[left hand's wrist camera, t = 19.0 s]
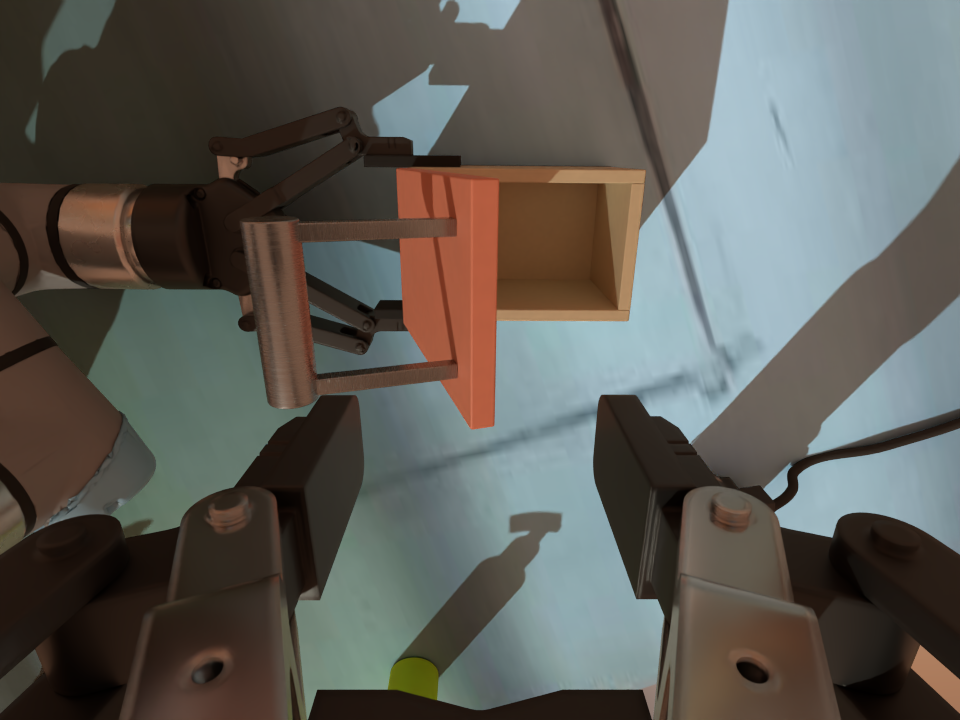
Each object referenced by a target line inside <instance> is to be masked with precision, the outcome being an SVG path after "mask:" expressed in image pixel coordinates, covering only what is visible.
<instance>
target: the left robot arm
mask: <svg viewBox="0 0 960 720" xmlns="http://www.w3.org/2000/svg"><path fill="white" fill-rule="evenodd" d="M959 428H960V418H957V419H955V420H952V421H949V422H946V423H943V424H940V425H937V426H934V427H931V428H928V429H925V430H922V431H918V432H915V433H911V434H908V435H905V436H901V437H898V438H895V439H891V440H888V441H885V442H881V443H877V444H873V445H868V446H863V447H856V448H848V449H840V450H834V451H830V452H825V453H821V454H818V455H814V456H811V457H808V458H805V459H803V460H801V461H799V462H797V463H796V464H795V465H794V466H792V467H791V468H790V469H789V471H788V474H787V480H788V487H787V489H786V490H785V491H784V492H783V493H782V494H781V495H780V496H779V497H777V498H776V499H774V500H772V499H771V498H770V497H769V495H768V494H767V493H766V492H765V491H764V490H763V489H762V487H761V486H753V487H746V488H738V487H737V486H736V485H735V483H734V482H733V481H732V480H731V478H729V477H725V478H719V477H717V476H716V475H714V474H712V472H711V471H710V470H709V468H708V467H707V465H706V464H705V463H704V461H703V460H702V459H701V457H700V456H699V455H697V452H696V451H695V449H694V448H693V447H692V445H691V444H689V441H688V440H687V438H686V437H685V436H684V434H683V433H682V432H681V430H680V429H679V428H678V427H677V426H675V425H673V424H672V423H670V422H669V421H667V420H666V419H664V418H662V417H661V416H650V415H649V414H648V412H647V411H646V409H645V408H644V406H643V405H642V403H641V402H640V400H639V399H638V397H637V396H636V395H601V396H600V399H599V403H598V411H597V422H596V433H595V444H594V456H593V470H594V479H595V484H596V487H597V490H598V493H599V495H600V498H601V501H602V504H603V507H604V509H605V512H606V515H607V518H608V521H609V523H610V526H611V529H612V532H613V535H614V538H615V540H616V543H617V546H618V549H619V552H620V554H621V557H622V560H623V563H624V566H625V568H626V571H627V574H628V577H629V580H630V582H631V585H632V588H633V591H634V594H635V597H636V599H658V601H659V604H660V606H661V609H662V611H663V614H664V621H663V627H662V636H661V646H660V656H659V666H658V676H657V687H656V696H655V707H654V717H653V720H960V714H959V713H958V712H957V711H956V710H955V709H954V708H953V707H952V706H951V705H950V704H949V703H948V702H947V701H946V700H944V699H943V698H942V697H941V696H940V695H939V694H938V693H937V692H936V691H935V690H934V689H933V688H932V687H931V686H929V685H928V684H927V683H926V682H925V681H924V680H923V679H922V678H921V677H920V676H919V675H918V674H917V673H916V672H914V671H913V670H912V669H911V666H912V663H913V661H914V659H915V656H916V654H917V651H918V649H919V646H920V645H921V646H922V647H924V648H925V649H926V650H927V651H928V652H929V653H930V654H932V655H933V656H934V657H935V658H936V659H937V660H938V661H940V662H941V663H942V664H943V665H944V666H945V667H946V668H948V669H949V670H950V671H951V672H952V673H953V674H954V675H956V676H957V677H958V678H959V679H960V555H959V554H958V553H956V552H955V551H953V550H952V549H950V548H949V547H947V546H946V545H944V544H943V543H941V542H940V541H938V540H937V539H935V538H934V537H932V536H931V535H929V534H927V533H926V532H924V531H922V530H920V529H919V528H917V527H915V526H912V525H910V524H908V523H906V522H903V521H900V520H897V519H894V518H891V517H887V516H883V515H879V514H872V513H851V514H847V515H844V516H842V517H841V518H840V519H839V520H838V522H837V525H836V528H835V531H834V535H833V538H831V537H826V536H821V535H816V534H811V533H806V532H801V531H796V530H791V529H787V528H782V527H780V524H779V520H778V518H777V516H776V514H775V513H774V512H775V511H776V510H778V509H779V508H781V507H783V506H784V505H786V504H787V503H788V502H789V501H791V500H792V499H793V497H794V496H795V495H796V493H797V491H798V479H797V477H798V475H799V474H800V473H801V472H802V471H803V470H805V469H806V468H808V467H810V466H812V465H814V464H817V463H820V462H823V461H828V460H833V459H840V458H848V457H856V456H863V455H870V454H875V453H880V452H883V451H887V450H891V449H894V448H897V447H901V446H904V445H908V444H911V443H914V442H918V441H921V440H925V439H928V438H931V437H935V436H938V435H941V434H944V433H947V432H950V431H953V430H956V429H959ZM363 475H364V452H363V441H362V430H361V420H360V409H359V402H358V398H357V396H356V395H322V396H320V398H319V399H318V401H317V402H316V403H315V405H314V406H313V408H312V409H311V411H310V412H309V414H308V415H307V417H295V418H294V419H292V420H291V421H289V422H287V423H286V424H284V425H283V426H281V427H280V428H278V429H277V431H276V432H275V433H274V435H273V436H272V437H271V439H270V440H269V441H268V445H265V447H264V448H263V449H262V451H261V452H260V456H257V457H256V459H255V460H254V461H253V463H252V464H251V465H250V467H249V468H248V469H247V471H246V472H245V473H244V475H243V476H242V477H241V479H240V480H239V481H238V483H237V484H236V485H235V487H234V488H229V489H225V490H222V491H219V492H216V493H213V494H211V495H209V496H207V497H205V498H203V499H201V500H200V501H198V502H197V503H195V504H194V505H193V506H192V507H190V508H189V510H188V511H187V512H186V513H185V514H184V516H183V518H182V520H181V524H180V527H177V528H173V529H169V530H165V531H160V532H155V533H150V534H145V535H140V536H135V537H130V538H125V537H124V533H123V530H122V527H121V524H120V522H119V520H117V519H116V518H115V517H112V516H109V515H104V514H89V515H82V516H77V517H72V518H69V519H65V520H62V521H59V522H56V523H54V524H51V525H49V526H47V527H44V528H42V529H40V530H38V531H36V532H34V533H33V534H31V535H29V536H28V537H26V538H25V539H23V540H22V541H20V542H19V543H17V544H16V545H14V546H13V547H11V548H10V549H8V550H7V551H5V552H4V553H2V554H1V555H0V679H1V678H2V677H3V676H4V675H6V674H7V673H8V672H9V671H10V670H11V669H12V668H14V667H15V666H16V665H17V664H18V663H19V662H20V661H22V660H23V659H24V658H25V657H26V656H27V655H28V654H30V653H31V652H32V651H33V650H34V649H35V650H36V652H37V655H38V657H39V660H40V662H41V664H42V667H43V669H44V673H43V674H42V675H41V676H40V677H39V678H38V679H37V680H36V681H35V682H34V683H33V684H32V685H30V686H29V687H28V688H27V689H26V690H25V691H24V692H23V693H22V694H21V695H20V696H19V697H18V698H17V699H15V700H14V701H13V702H12V703H11V704H10V705H9V706H8V707H7V708H6V709H5V710H4V711H3V712H2V713H0V720H307V716H306V706H305V696H304V686H303V676H302V666H301V656H300V646H299V636H298V627H297V621H296V615H295V607H296V605H297V602H298V600H320V598H321V596H322V593H323V590H324V587H325V585H326V582H327V579H328V576H329V574H330V571H331V568H332V565H333V563H334V560H335V557H336V554H337V552H338V549H339V546H340V543H341V541H342V538H343V535H344V532H345V530H346V527H347V524H348V521H349V519H350V516H351V513H352V510H353V508H354V505H355V502H356V499H357V497H358V494H359V491H360V488H361V485H362V481H363ZM308 720H652V719H651V715H650V712H649V709H648V706H647V702H646V699H645V696H644V693H643V690H560V691H556V692H552V693H549V694H545V695H541V696H537V697H533V698H530V699H526V700H522V701H518V702H515V703H511V704H507V705H503V706H499V707H496V708H492V709H488V710H472V709H468V708H464V707H461V706H457V705H453V704H449V703H445V702H442V701H438V700H434V699H430V698H427V697H423V696H419V695H415V694H411V693H408V692H404V691H400V690H317V693H316V696H315V699H314V702H313V706H312V709H311V712H310V715H309V719H308Z"/></svg>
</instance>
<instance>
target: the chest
mask: <svg viewBox="0 0 960 720" xmlns="http://www.w3.org/2000/svg"><path fill="white" fill-rule="evenodd" d="M409 168H417V169H425V170H433V171H442V172H450V173H458V174H467V175H475V176H484V177H492V178H498V179H499V219H498V269H497V318H496V321H628V320H629V312H630V305H631V297H632V288H633V279H634V271H635V262H636V254H637V245H638V237H639V228H640V219H641V211H642V202H643V194H644V185H645V184H643V183H644V182H645V175H646V170H643V169H631V168H619V167H609V166H502V165H461V167H409Z"/></svg>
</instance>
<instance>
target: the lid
mask: <svg viewBox="0 0 960 720" xmlns="http://www.w3.org/2000/svg"><path fill="white" fill-rule="evenodd" d="M396 174H397V195H398V216H399V219H363V220H327V221H299V219H298V218H297V217H291V216H260V217H249V218H244V219H241V220H240V227H241V234H242V240H243V247H244V253H245V260H246V266H247V272H248V279H249V285H250V292H251V298H252V305H253V311H254V317H255V324H256V330H257V337H258V343H259V350H260V356H261V362H262V369H263V375H264V382H265V388H266V395H267V401H268V403H269V405H271V406H272V407H275V408H280V409H293V408H299V407H303V406H306V405H309V404H311V403H313V402H315V401H316V400H317V399H318V397H319V395H324V394H332V393H340V392H349V391H357V390H365V389H373V388H382V387H390V386H398V385H406V384H415V383H423V382H431V381H439V380H440V381H441V383H442V384H443V386H444V388H445V389H446V391H447V392H448V394H449V395H450V397H451V399H452V400H453V402H454V403H455V405H456V406H457V408H458V410H459V411H460V413H461V414H462V416H463V417H464V419H465V421H466V422H467V424H468V425H469V427H470V429H479V428H485V427H492V426H494V417H495V368H496V318H497V269H498V219H499V179H498V178H492V177H484V176H475V175H467V174H458V173H450V172H442V171H433V170H425V169H417V168H397V169H396ZM382 239H400V258H401V279H402V300H403V322H404V325H405V326H406V328H407V329H408V331H409V332H410V334H411V336H412V337H413V339H414V340H415V342H416V343H417V345H418V347H419V348H420V350H421V351H422V353H423V354H424V356H425V358H426V359H427V361H428V362H424V363H415V364H406V365H396V366H387V367H378V368H369V369H360V370H351V371H342V372H333V373H323V374H317V370H316V361H315V353H314V344H313V335H312V326H311V318H310V309H309V300H308V292H307V283H306V274H305V266H304V257H303V248H302V243H304V242H330V241H356V240H382Z"/></svg>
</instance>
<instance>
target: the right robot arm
mask: <svg viewBox="0 0 960 720" xmlns="http://www.w3.org/2000/svg"><path fill="white" fill-rule="evenodd" d="M339 132H340V134H341V136H342V139H343V142H341V143H339V144H338V145H336V146H335V147H333V148H332V149H330V150H329V151H327V152H326V153H324V154H323V155H321V156H320V157H318V158H317V159H315V160H314V161H312V162H311V163H309V164H307V165H306V166H304V167H303V168H301V169H300V170H298V171H297V172H295V173H294V174H292V175H291V176H289V177H288V178H286V179H285V180H283V181H282V182H280V183H279V184H277V185H275V186H274V187H271V188H269V189H268V190H266V191H264V192H263V193H259V192H258V191H256V190H255V189H253V188H252V187H251V186H249V185H248V184H246V183H245V182H243V181H242V180H240V179H239V174H240V172H241V171H242V170H244V169H248V168H250V167H251V165H252V157H263V156H267V155H271V154H274V153H277V152H280V151H283V150H286V149H289V148H293V147H296V146H299V145H302V144H305V143H308V142H311V141H314V140H317V139H320V138H324V137H327V136H330V135H333V134H336V133H339ZM209 149H210V151H211V152H212V153H213V154H214V155H217V161H218V170H219V179H217V180H215V181H214V182H212V183H210V184H152V185H149V186H146V185H144V184H96V183H85V184H72V185H64V184H32V183H0V555H1V554H2V553H4V552H5V551H7V550H8V549H10V548H11V547H13V546H14V545H16V544H17V543H19V542H20V541H21V540H22V539H23V538H24V537H25V536H27V535H28V534H30V533H32V532H36V531H38V530H40V529H42V528H44V527H47V526H49V525H51V524H54V523H56V522H59V521H62V520H65V519H69V518H72V517H77V516H82V515H89V514H104V515H109V516H110V515H111V514H112V513H113V512H114V511H115V510H116V509H118V508H119V507H121V506H122V505H124V504H125V503H127V502H128V501H129V500H130V499H132V498H133V497H134V496H135V495H136V494H137V493H138V492H139V491H140V490H141V489H142V488H143V487H144V486H145V485H146V484H147V483H148V482H149V480H150V479H151V477H152V476H153V474H154V472H155V468H156V460H155V457H154V455H153V454H152V452H151V451H150V450H149V448H148V447H147V446H146V445H145V443H144V442H143V441H142V440H141V438H140V437H139V436H138V434H137V433H136V432H135V430H134V429H133V428H132V426H131V425H130V424H129V422H128V419H127V418H126V416H125V414H123V413H122V412H120V411H118V410H117V409H116V408H115V407H114V406H113V405H112V404H111V403H110V402H109V401H108V400H107V399H106V398H105V396H104V395H103V394H102V393H101V392H100V391H99V390H98V389H97V388H96V387H95V386H94V385H93V384H92V383H91V381H90V380H89V379H88V378H87V377H86V376H85V375H84V374H83V373H82V372H81V371H80V370H79V369H78V367H77V366H76V365H75V364H74V363H73V362H72V361H71V360H70V359H69V358H68V357H67V356H66V355H65V354H64V352H63V351H62V350H61V349H60V348H59V347H58V345H57V344H56V342H55V341H54V340H53V339H52V338H51V337H50V335H49V334H48V333H47V332H46V331H45V330H44V329H43V328H42V326H41V325H40V324H39V323H38V322H37V321H36V320H35V318H34V317H33V316H32V315H31V314H30V313H29V312H28V310H27V309H26V308H25V307H24V306H23V305H22V304H21V303H20V301H19V300H18V299H17V298H16V296H19V295H23V294H26V293H29V292H33V291H38V290H45V289H75V288H94V289H158V288H161V287H162V288H165V289H221V290H226V291H229V292H231V293H233V294H235V295H238V296H239V300H240V305H241V309H242V314H243V317H241V318H240V319H239V321H238V325H239V327H240V328H241V329H242V330H243V331H247V332H250V331H257V330H256V324H255V317H254V311H253V305H252V298H251V292H250V285H249V279H248V272H247V266H246V260H245V253H244V247H243V240H242V234H241V227H240V220H241V219H244V218H249V217H260V216H287V215H284V213H283V211H282V210H281V209H283V208H284V207H286V206H288V205H289V204H291V203H292V202H294V201H295V200H296V199H297V198H299V197H300V196H302V195H303V194H305V193H306V192H308V191H310V190H311V189H313V188H314V187H316V186H317V185H319V184H320V183H322V182H324V181H325V180H327V179H328V178H330V177H331V176H333V175H334V174H336V173H337V172H339V171H341V170H342V169H344V168H345V167H347V166H348V165H350V164H351V163H353V162H355V161H356V160H358V159H359V158H361V157H362V156H364V167H461V156H420V155H413V141H412V140H409V139H407V138H404V137H368V136H366V135H365V134H364V133H363V132H362V130H361V128H360V125H359V123H358V118H357V115H356V113H355V112H353V111H352V110H349V109H347V108H343V107H337V108H334V109H331V110H328V111H325V112H322V113H319V114H316V115H312V116H309V117H306V118H303V119H300V120H297V121H294V122H291V123H288V124H285V125H282V126H279V127H276V128H273V129H270V130H267V131H264V132H261V133H257V134H254V135H251V136H248V137H245V138H242V139H241V138H227V137H213V138H211V139H210V141H209ZM305 274H306V283H307V292H308V300H309V303H310V304H312V305H314V306H316V307H318V308H320V309H321V310H323V311H325V312H327V313H329V314H331V315H333V316H335V317H336V318H338V319H340V320H342V321H344V322H346V323H348V324H350V325H351V326H348V325H344V324H341V323H337V322H334V321H330V320H327V319H323V318H319V317H316V316H312V315H310V318H311V326H312V335H313V342H314V343H318V344H321V345H325V346H329V347H332V348H336V349H340V350H343V351H347V352H351V353H354V354H358V355H363V354H365V353H366V352H367V350H368V348H369V346H370V345H371V343H372V341H373V337H374V334H375V333H376V332H378V331H408V329H407V328H406V326H405V325H404V322H403V300H380V301H379V303H378V304H377V306H376V307H375V309H373V308H371V307H369V306H367V305H365V304H364V303H362V302H360V301H358V300H356V299H354V298H353V297H351V296H349V295H347V294H345V293H343V292H342V291H340V290H338V289H336V288H334V287H332V286H331V285H329V284H327V283H325V282H323V281H321V280H320V279H318V278H316V277H314V276H312V275H310V274H309V273H307V272H305ZM352 326H353V327H352Z"/></svg>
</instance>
